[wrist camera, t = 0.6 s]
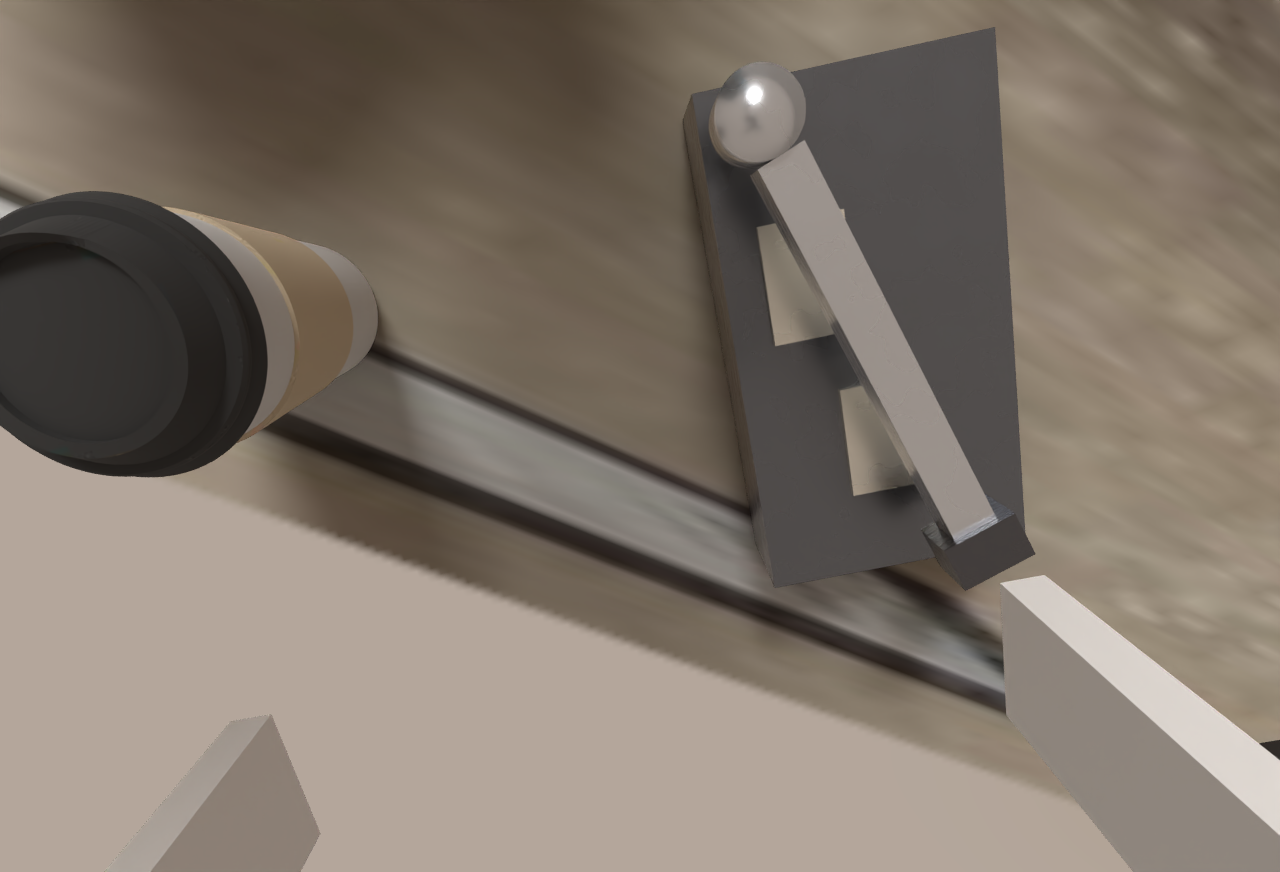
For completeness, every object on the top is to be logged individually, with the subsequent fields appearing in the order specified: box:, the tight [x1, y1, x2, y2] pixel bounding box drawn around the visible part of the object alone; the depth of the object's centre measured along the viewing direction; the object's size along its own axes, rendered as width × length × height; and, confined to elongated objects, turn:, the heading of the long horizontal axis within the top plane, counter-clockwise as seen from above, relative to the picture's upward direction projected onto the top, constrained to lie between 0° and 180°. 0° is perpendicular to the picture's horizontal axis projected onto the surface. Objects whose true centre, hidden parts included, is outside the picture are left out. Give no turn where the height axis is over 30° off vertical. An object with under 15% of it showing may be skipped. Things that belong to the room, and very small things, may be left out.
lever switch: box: [683, 27, 1025, 588], centre depth 30 cm, size 22×12×8 cm, turn 12°
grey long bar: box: [709, 62, 1035, 591], centre depth 25 cm, size 21×3×2 cm, turn 32°
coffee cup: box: [0, 191, 378, 477], centre depth 26 cm, size 9×9×15 cm
